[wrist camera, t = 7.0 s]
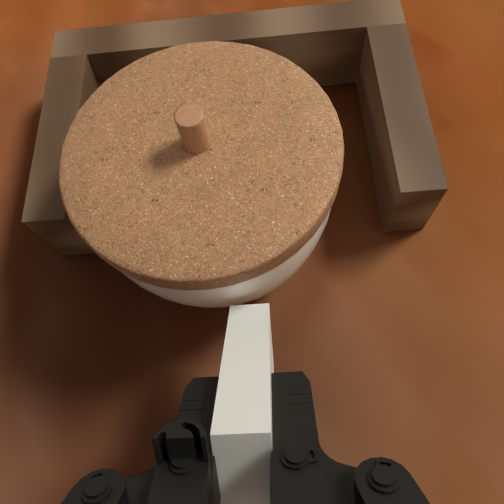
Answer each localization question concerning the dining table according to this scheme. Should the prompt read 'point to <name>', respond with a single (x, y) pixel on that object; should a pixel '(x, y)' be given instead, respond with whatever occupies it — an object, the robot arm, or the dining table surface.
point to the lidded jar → (204, 171)
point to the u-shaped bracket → (286, 45)
